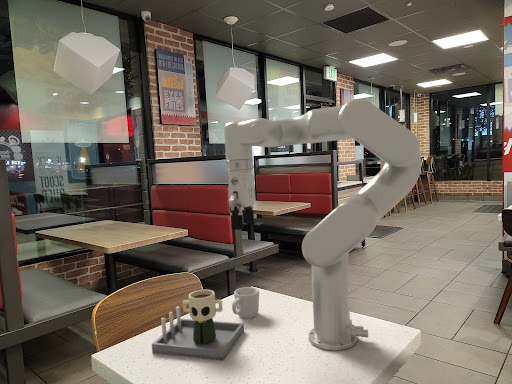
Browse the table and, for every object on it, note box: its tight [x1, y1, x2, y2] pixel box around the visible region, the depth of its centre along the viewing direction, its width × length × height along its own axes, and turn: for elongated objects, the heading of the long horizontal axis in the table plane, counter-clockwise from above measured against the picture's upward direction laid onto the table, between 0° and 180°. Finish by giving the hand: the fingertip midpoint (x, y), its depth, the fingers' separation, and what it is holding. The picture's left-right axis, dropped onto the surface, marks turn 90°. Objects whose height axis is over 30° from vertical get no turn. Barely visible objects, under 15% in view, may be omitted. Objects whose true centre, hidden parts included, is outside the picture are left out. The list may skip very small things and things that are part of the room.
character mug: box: [182, 289, 223, 344], centre depth 100 cm, size 11×7×13 cm, turn 84°
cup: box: [231, 286, 260, 319], centre depth 117 cm, size 11×8×8 cm
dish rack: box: [151, 305, 245, 362], centre depth 101 cm, size 20×16×8 cm
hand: (243, 226), depth 106 cm, fingers open, 9 cm apart
